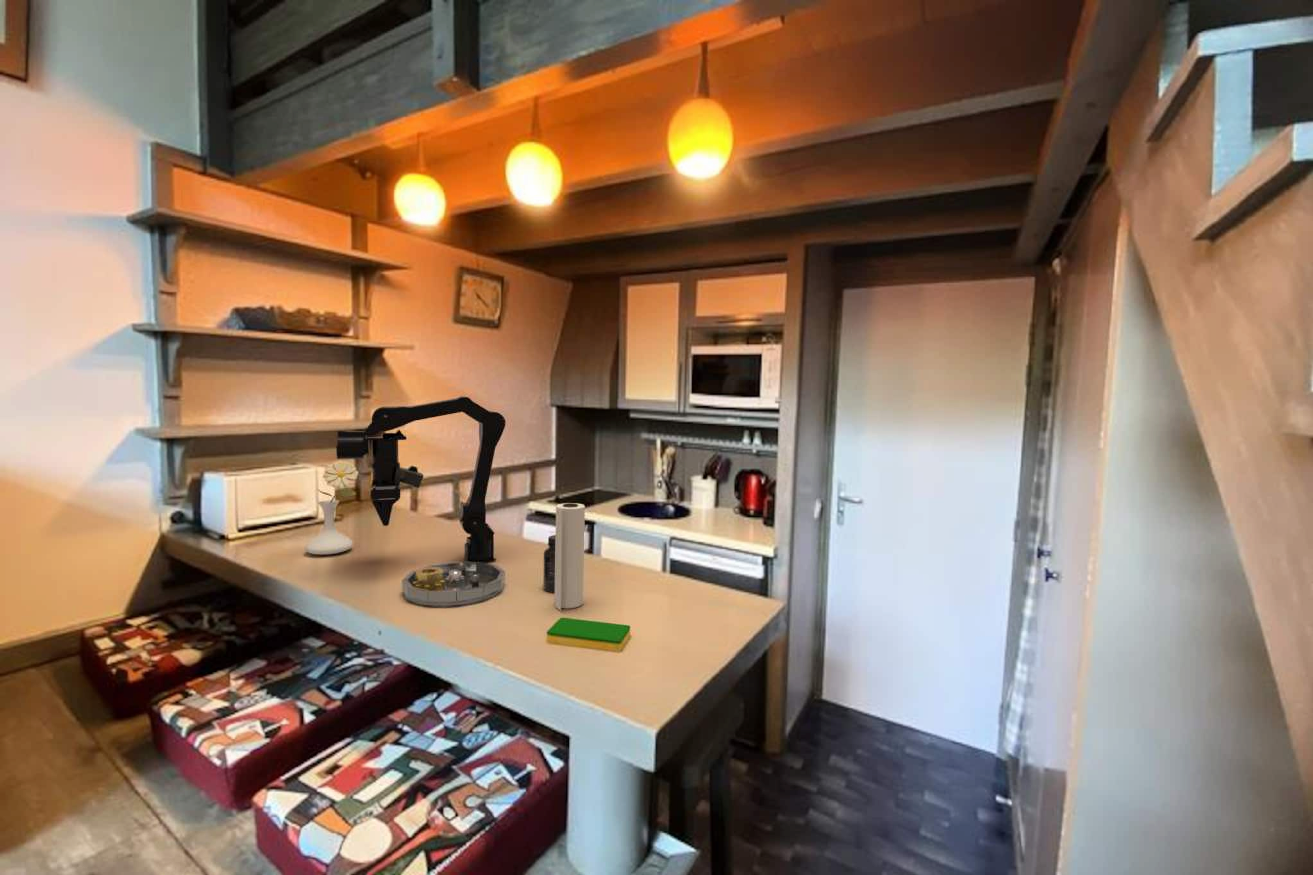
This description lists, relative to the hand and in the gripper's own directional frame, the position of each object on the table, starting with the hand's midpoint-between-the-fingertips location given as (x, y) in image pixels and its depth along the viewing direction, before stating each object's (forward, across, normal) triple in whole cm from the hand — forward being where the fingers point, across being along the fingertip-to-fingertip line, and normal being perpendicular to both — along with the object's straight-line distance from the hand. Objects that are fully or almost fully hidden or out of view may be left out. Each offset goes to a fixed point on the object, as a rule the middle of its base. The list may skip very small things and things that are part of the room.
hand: (385, 521), depth 137 cm
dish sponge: (+13, -56, -34) cm, 66 cm away
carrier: (+12, -21, -14) cm, 28 cm away
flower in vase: (+12, +21, +13) cm, 28 cm away
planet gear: (+11, -22, -8) cm, 26 cm away
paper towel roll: (+12, -38, -34) cm, 53 cm away
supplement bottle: (+12, -28, -36) cm, 47 cm away
